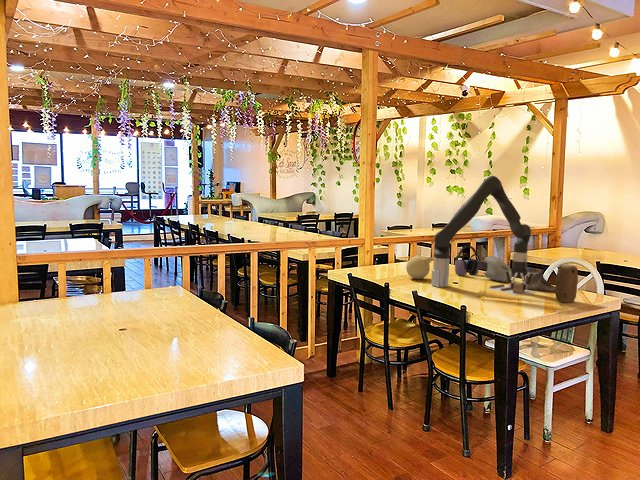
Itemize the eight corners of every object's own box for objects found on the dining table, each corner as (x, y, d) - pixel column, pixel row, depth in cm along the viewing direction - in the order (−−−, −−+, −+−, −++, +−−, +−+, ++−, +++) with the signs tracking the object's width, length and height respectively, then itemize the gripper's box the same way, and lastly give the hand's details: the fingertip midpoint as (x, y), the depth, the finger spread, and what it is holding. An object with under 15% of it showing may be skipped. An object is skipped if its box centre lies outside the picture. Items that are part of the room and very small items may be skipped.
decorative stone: (501, 283, 325) (502, 259, 323) (481, 279, 340) (482, 256, 338) (515, 282, 330) (516, 258, 329) (494, 277, 345) (495, 255, 344)
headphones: (480, 275, 354) (482, 245, 352) (462, 277, 346) (463, 247, 343) (470, 273, 362) (471, 244, 360) (452, 274, 354) (453, 245, 352)
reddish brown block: (522, 293, 288) (523, 284, 287) (512, 292, 290) (513, 283, 289) (523, 290, 296) (523, 281, 296) (514, 289, 298) (514, 280, 298)
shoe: (571, 295, 295) (573, 273, 293) (566, 298, 286) (567, 276, 285) (526, 289, 311) (527, 268, 309) (520, 291, 302) (521, 270, 301)
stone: (564, 304, 271) (567, 266, 269) (552, 301, 277) (554, 264, 275) (578, 301, 278) (580, 264, 275) (565, 299, 283) (568, 262, 281)
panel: (516, 298, 285) (517, 291, 284) (485, 290, 303) (485, 284, 303) (535, 295, 293) (536, 288, 292) (503, 288, 311) (504, 282, 311)
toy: (434, 280, 332) (435, 257, 330) (414, 282, 326) (415, 258, 325) (420, 276, 347) (421, 253, 346) (400, 277, 342) (401, 254, 340)
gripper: (534, 260, 292) (532, 290, 294) (506, 258, 297) (505, 287, 299) (533, 262, 285) (531, 292, 287) (505, 260, 291) (504, 290, 293)
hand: (518, 290), depth 293 cm, fingers closed on reddish brown block, 5 cm apart
